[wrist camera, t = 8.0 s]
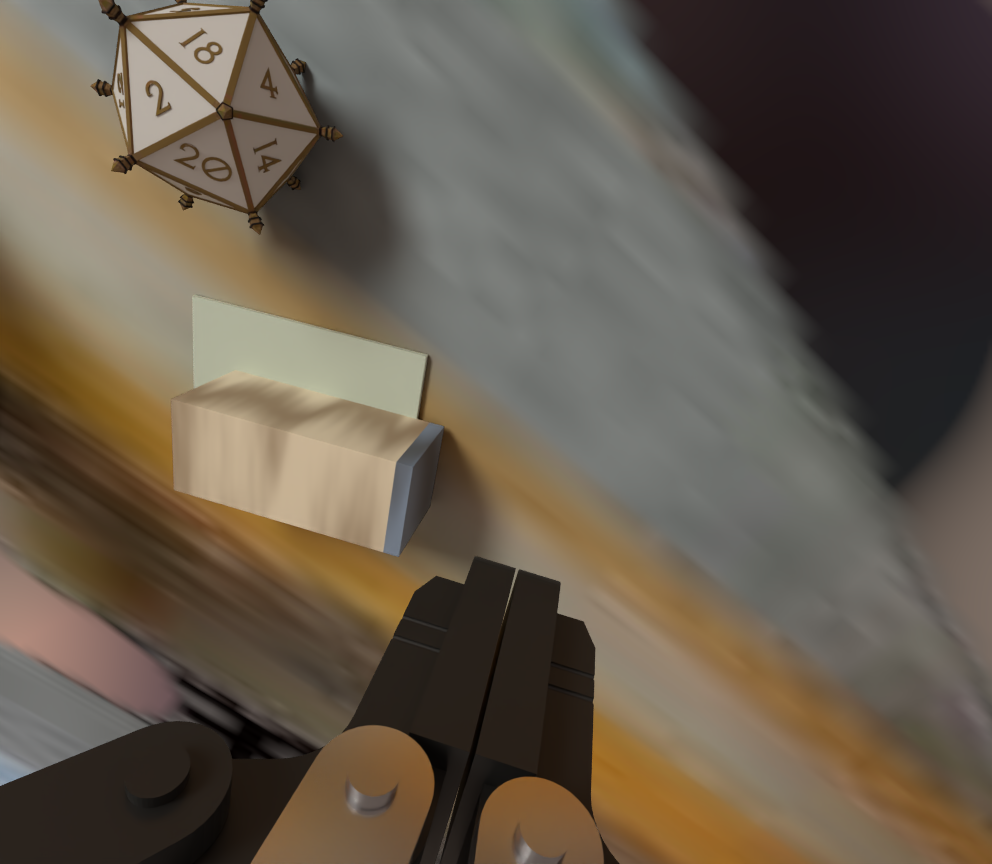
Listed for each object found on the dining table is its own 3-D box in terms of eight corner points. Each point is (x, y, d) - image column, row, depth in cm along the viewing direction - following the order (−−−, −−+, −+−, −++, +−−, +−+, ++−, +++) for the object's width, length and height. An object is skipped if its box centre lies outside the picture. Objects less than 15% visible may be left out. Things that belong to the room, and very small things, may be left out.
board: (198, 487, 36) (195, 490, 36) (196, 294, 31) (192, 295, 31) (397, 546, 34) (396, 549, 34) (428, 354, 30) (426, 356, 29)
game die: (345, 119, 30) (405, 123, 22) (239, 246, 30) (259, 296, 22) (180, -59, 24) (179, -139, 16) (53, 100, 25) (-7, 96, 17)
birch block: (430, 506, 33) (234, 450, 34) (444, 426, 31) (235, 369, 32) (398, 556, 28) (174, 489, 29) (412, 466, 26) (171, 399, 27)
